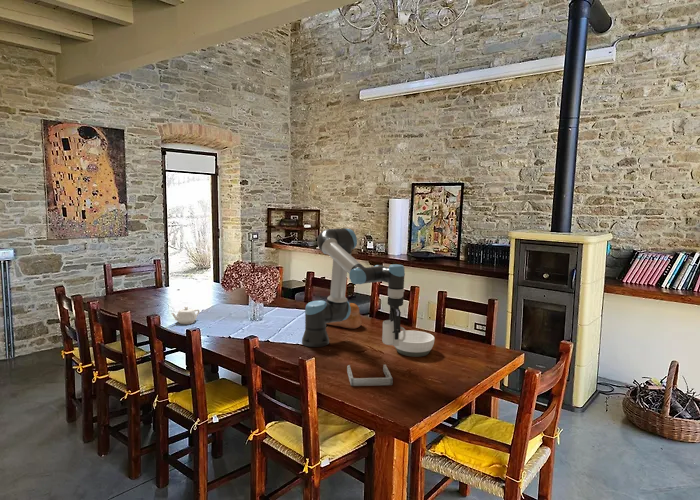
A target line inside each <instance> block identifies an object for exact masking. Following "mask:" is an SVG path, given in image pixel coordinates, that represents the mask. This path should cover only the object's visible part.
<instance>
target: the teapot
mask: <svg viewBox="0 0 700 500" xmlns="http://www.w3.org/2000/svg"><path fill="white" fill-rule="evenodd" d="M196 312H197V313H196ZM199 314H200V310H199V309H194V308H189V307H188V306H184V308H182V309H179V310H178V312H177V314H176V315H175V313H174V312H172V313H171V315H172V316H173V318H174V320H175V321H176V322H177V323H179V324H181V325H190V324H194V323H195V321H197V317H198V316H199Z"/></svg>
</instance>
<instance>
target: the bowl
mask: <svg viewBox="0 0 700 500" xmlns="http://www.w3.org/2000/svg"><path fill="white" fill-rule="evenodd" d="M400 331H401V332H400V337H399V339H403V336H404V333H403V330H400ZM405 331H406V338H405V340H404V341H401V342H400V341H399V346H394V348H395V350H396V351H397V353H399V354H400V355H403V356H406V357H414V358H415V357H416V358H417V357H425V356H427V355H429V353H430V352H431V350H432V349H433V347H434V344H435V336H434V335H433V334H431V333H429V332H426V331H421V330H420V331H419V330H410V329H409V330H405Z"/></svg>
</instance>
